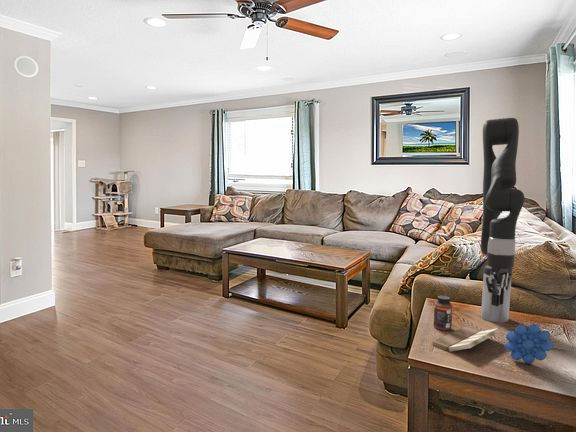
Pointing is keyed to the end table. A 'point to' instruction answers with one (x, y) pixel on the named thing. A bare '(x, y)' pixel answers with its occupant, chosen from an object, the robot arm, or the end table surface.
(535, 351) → the grapes
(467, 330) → the laid plank
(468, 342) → the plank
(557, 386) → the end table surface
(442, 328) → the supplement bottle
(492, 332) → the plank
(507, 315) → the robot arm
